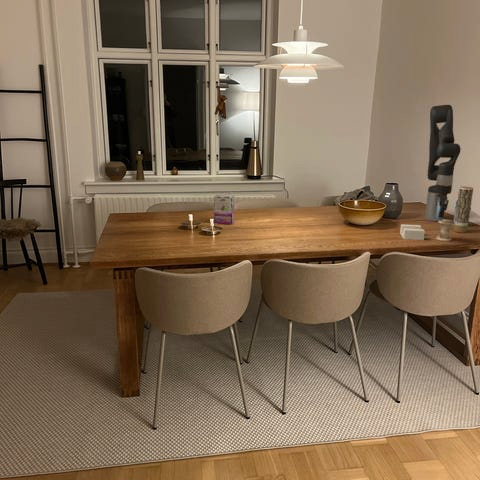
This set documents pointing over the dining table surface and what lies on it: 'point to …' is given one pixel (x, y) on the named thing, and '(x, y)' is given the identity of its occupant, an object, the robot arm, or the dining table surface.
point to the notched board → (412, 232)
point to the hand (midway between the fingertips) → (439, 216)
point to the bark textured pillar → (463, 209)
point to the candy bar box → (224, 209)
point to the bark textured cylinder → (456, 209)
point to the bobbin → (445, 230)
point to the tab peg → (438, 213)
